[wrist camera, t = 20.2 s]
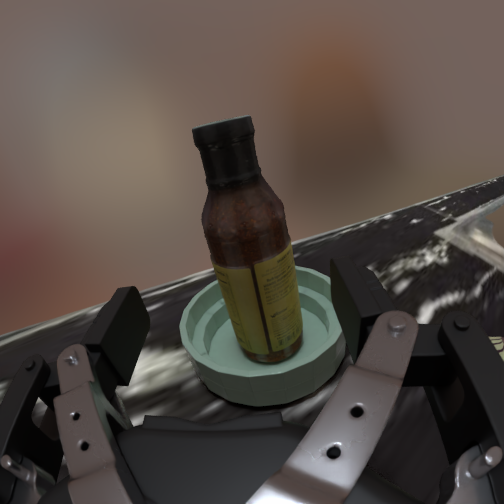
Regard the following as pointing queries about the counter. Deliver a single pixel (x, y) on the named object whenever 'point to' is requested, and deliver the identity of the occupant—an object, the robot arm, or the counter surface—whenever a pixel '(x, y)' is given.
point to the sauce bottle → (249, 242)
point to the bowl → (255, 372)
